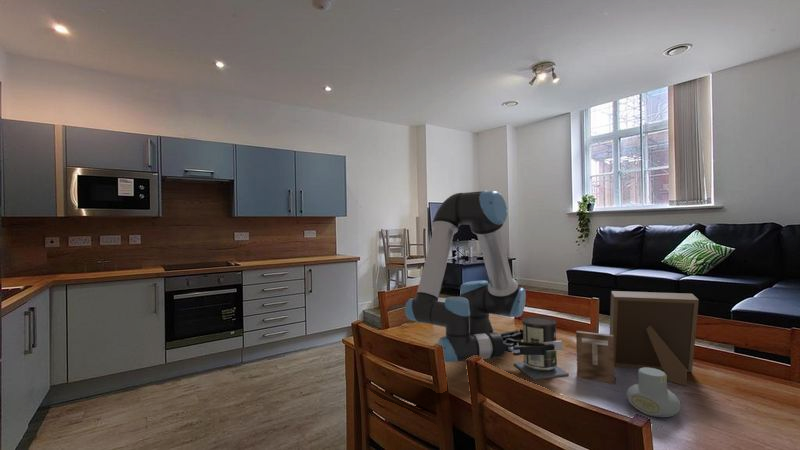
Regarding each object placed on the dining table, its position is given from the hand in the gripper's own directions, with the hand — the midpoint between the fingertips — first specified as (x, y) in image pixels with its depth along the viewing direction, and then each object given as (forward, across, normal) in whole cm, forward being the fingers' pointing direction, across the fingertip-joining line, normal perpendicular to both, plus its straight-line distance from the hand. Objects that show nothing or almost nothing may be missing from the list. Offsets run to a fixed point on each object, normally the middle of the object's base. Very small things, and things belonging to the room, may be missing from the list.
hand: (551, 339), depth 116 cm
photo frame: (+28, +11, -10) cm, 31 cm away
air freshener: (+9, +29, -10) cm, 32 cm away
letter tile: (+9, +9, -10) cm, 16 cm away
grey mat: (-4, 0, -10) cm, 10 cm away
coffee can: (-4, 0, -8) cm, 9 cm away
